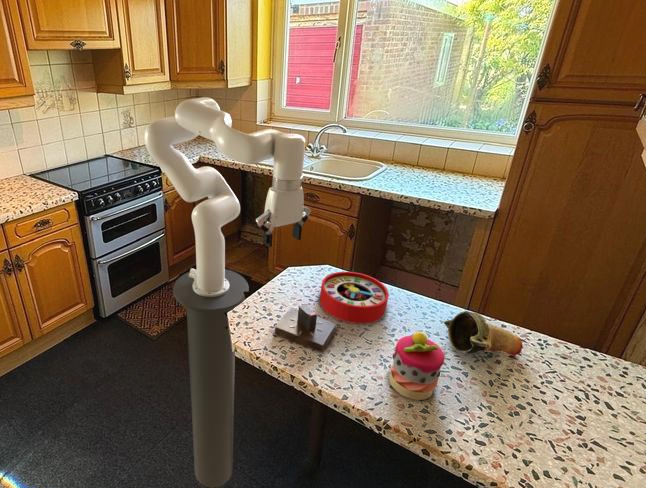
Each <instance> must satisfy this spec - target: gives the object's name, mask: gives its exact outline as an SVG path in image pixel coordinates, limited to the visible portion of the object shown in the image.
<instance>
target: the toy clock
mask: <svg viewBox="0 0 646 488" xmlns="http://www.w3.org/2000/svg"><path fill="white" fill-rule="evenodd" d="M389 294H390V293H389V290H388V288H387V286H385V284H384V283H382V282H381V281H380V280H379V279H377V278H375V277H372V276H371V275H368V274H364V273H361V272H357V271H356V272H355V271H337V272H333V273H330V274H328V275H326V276H325V277H324V278H323V279H322V281H321V287H320V293H319V304H320V306H321V308H322V309H323V310H324V311H325V312H326V313H327V314H328V315H330V316H332V317H333V318H336V319H338V320H340V321H343V322H346V323H352V324H363V325H364V324H365V325H366V324H372V323H375V322H377V321H380V320H381V319H382V318H383V317H384V315H385V314H386V310H387V306H388V301H389V297H390V295H389Z"/></svg>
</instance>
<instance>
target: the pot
mask: <svg viewBox="0 0 646 488" xmlns="http://www.w3.org/2000/svg"><path fill="white" fill-rule="evenodd" d="M443 324H444V326H445V327H446V328H447V331H448V333H447V335H448V340H449V344H450V346H451V347H452V348H453V349H454V350H455V351H457V352H458V353H462V354H463V353H465V354H476V353H478V352H482V353H486V352H487V353H491V352H492V353H495V352H499V353H501V352H502V353H505V354H507V355H509V356H513V357H516V356H517V355H520V354H521V353H522V350H523V347H524V345H523V341H522V339H521V338H520V337H519V336H517V335H516V334H514V333H512V332H511V331H508V330H506V329H504V328H503V327H500V326H497V325H495V324H492V323H488V322H486V318H485V317H484V316H483V315H482V314H481V313H478V312H475V311H474V312H473V311H469V310H464V311H461V312H459V313H457V314H456V315H455V316H454V317H453V318H451V319H448V320H447V319H446V320H445V321H443Z"/></svg>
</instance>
